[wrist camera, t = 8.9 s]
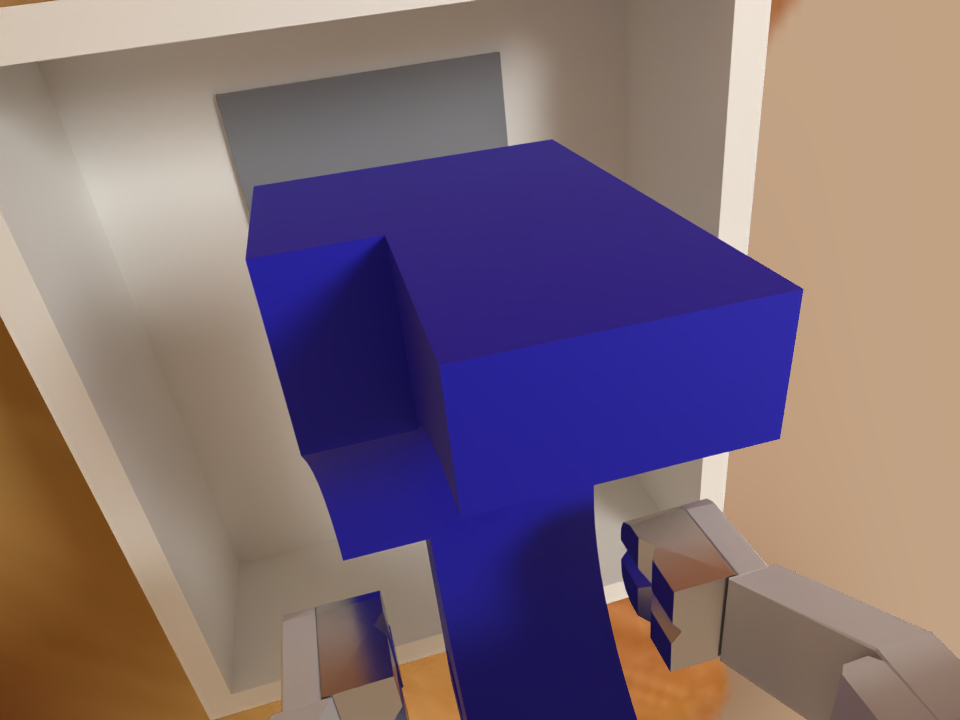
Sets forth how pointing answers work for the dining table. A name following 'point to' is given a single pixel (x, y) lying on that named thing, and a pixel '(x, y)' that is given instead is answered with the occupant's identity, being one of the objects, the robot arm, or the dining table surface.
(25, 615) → the dining table surface
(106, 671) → the dining table surface
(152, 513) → the walled box
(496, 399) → the blue curved block
